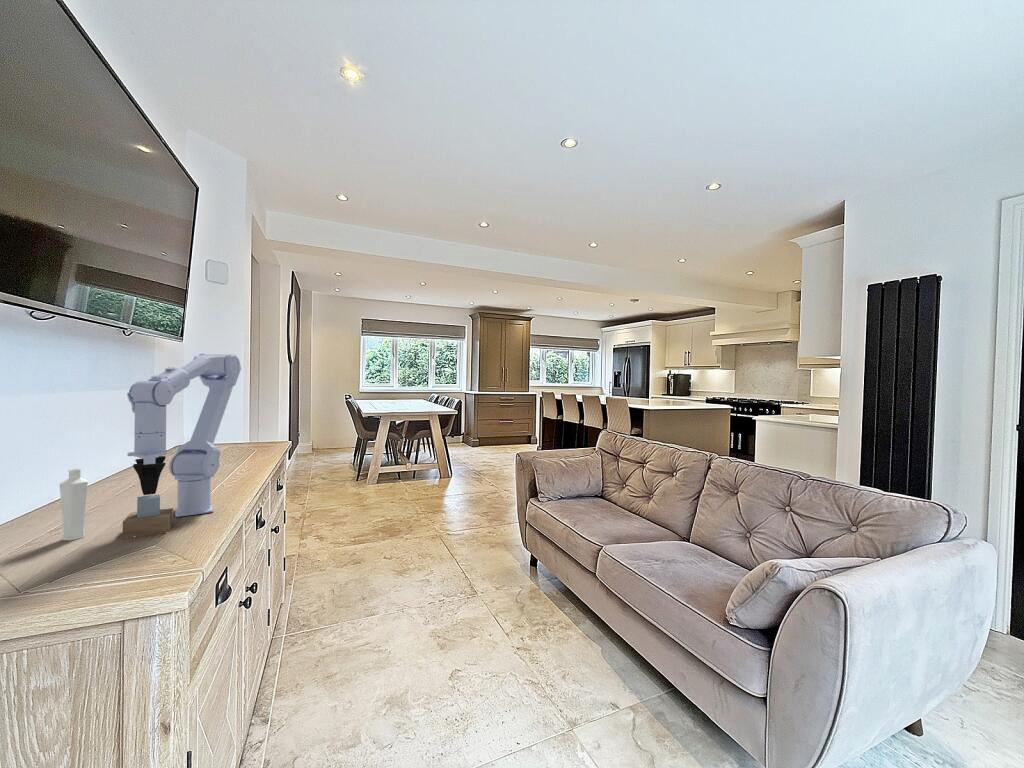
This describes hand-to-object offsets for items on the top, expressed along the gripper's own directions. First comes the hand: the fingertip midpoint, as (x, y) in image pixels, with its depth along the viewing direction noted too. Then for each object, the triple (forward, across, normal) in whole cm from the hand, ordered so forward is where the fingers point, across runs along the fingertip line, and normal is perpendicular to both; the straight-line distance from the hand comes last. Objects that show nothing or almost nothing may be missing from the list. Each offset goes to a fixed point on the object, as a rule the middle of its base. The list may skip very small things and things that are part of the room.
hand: (149, 491), depth 103 cm
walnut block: (+10, 0, 0) cm, 10 cm away
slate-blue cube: (+5, 0, 0) cm, 5 cm away
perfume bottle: (+9, -3, -13) cm, 16 cm away
